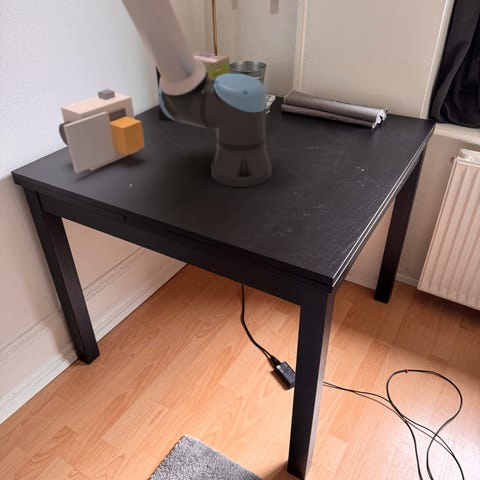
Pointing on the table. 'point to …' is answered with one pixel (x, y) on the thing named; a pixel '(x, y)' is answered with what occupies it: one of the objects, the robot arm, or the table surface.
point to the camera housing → (103, 102)
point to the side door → (101, 139)
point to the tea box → (213, 63)
